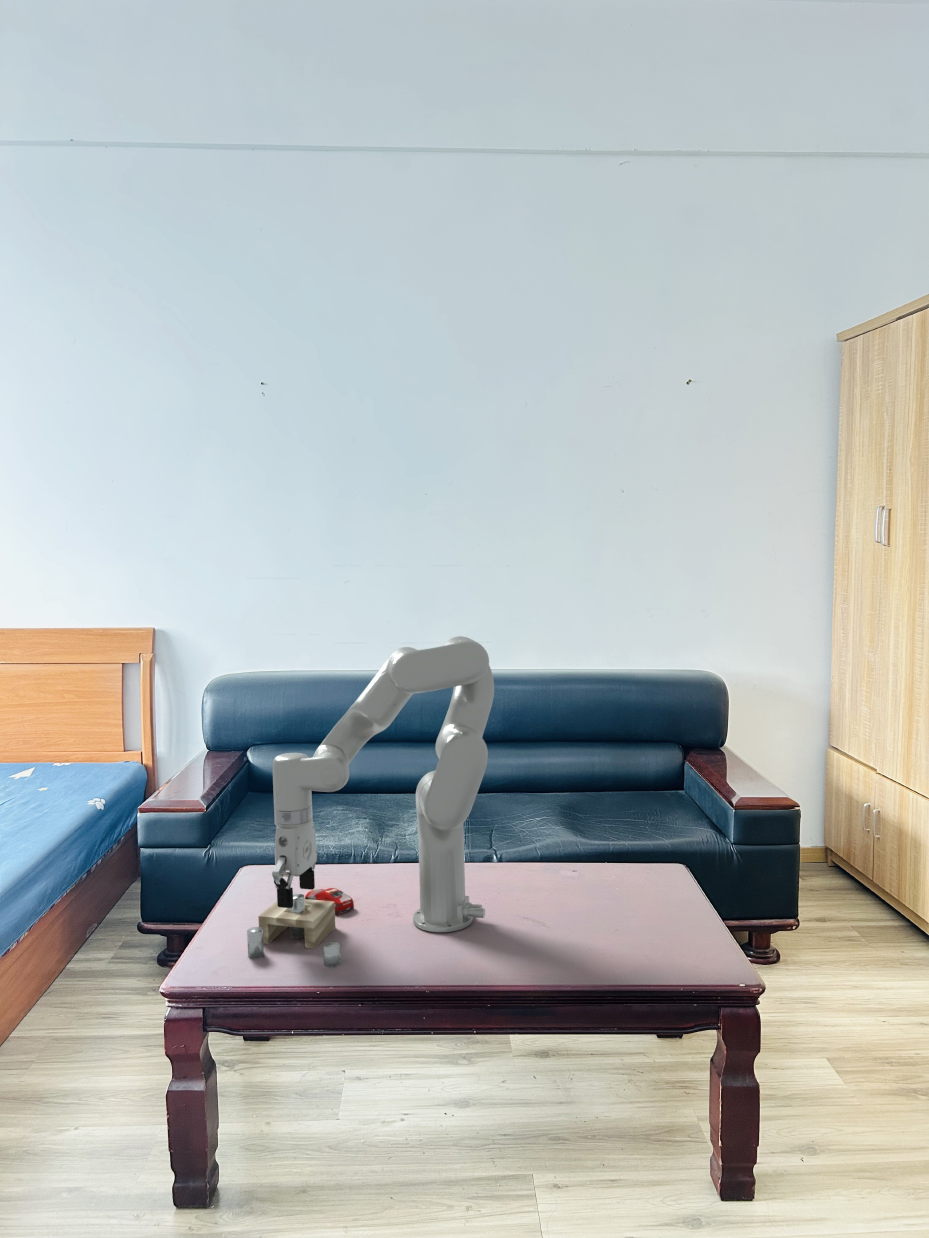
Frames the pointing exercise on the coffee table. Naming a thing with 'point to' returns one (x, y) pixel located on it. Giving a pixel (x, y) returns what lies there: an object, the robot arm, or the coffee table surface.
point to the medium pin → (255, 942)
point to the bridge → (300, 921)
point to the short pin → (331, 954)
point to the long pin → (299, 908)
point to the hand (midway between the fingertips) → (296, 897)
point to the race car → (332, 898)
